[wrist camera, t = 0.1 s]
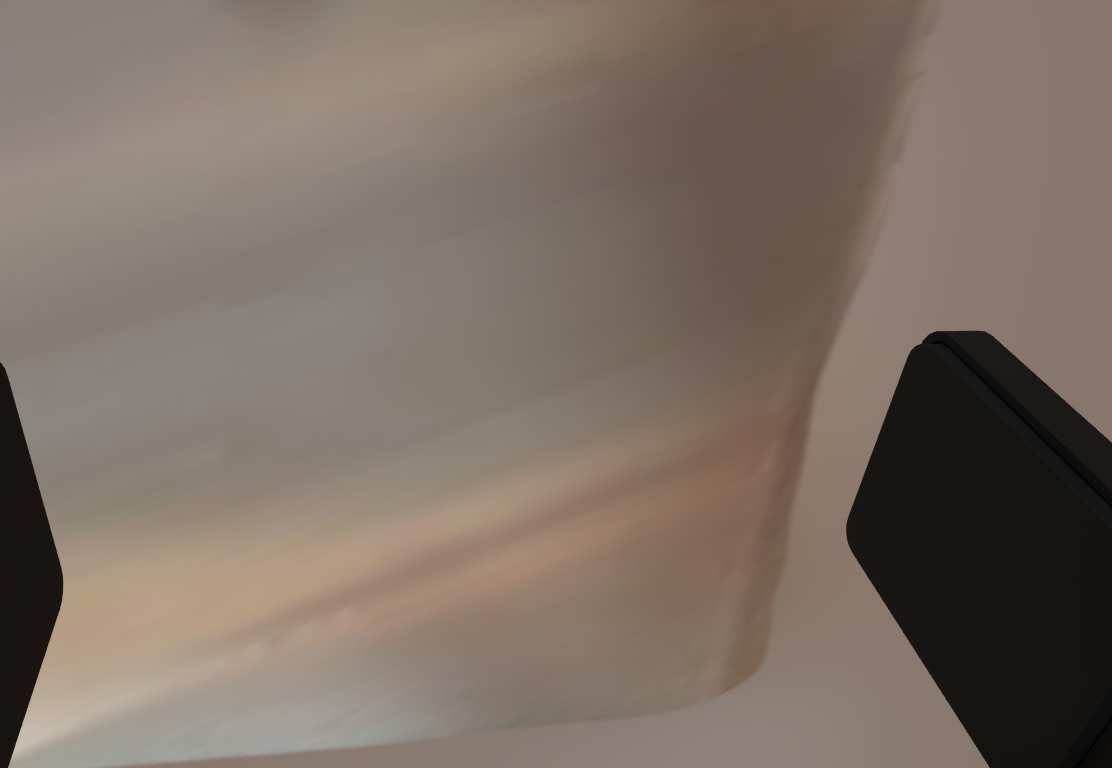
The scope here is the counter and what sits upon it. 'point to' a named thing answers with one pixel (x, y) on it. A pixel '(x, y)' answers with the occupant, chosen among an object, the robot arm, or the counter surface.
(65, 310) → the counter surface
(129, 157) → the counter surface
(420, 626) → the counter surface
